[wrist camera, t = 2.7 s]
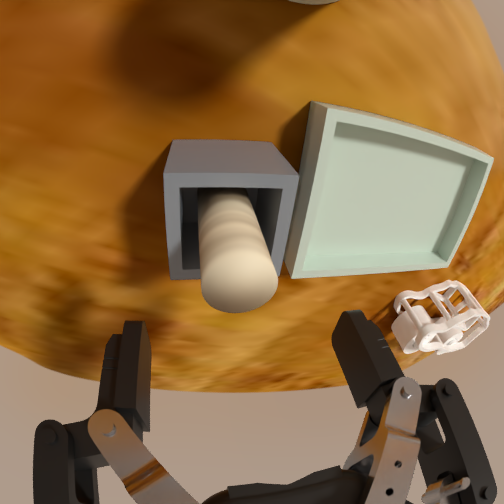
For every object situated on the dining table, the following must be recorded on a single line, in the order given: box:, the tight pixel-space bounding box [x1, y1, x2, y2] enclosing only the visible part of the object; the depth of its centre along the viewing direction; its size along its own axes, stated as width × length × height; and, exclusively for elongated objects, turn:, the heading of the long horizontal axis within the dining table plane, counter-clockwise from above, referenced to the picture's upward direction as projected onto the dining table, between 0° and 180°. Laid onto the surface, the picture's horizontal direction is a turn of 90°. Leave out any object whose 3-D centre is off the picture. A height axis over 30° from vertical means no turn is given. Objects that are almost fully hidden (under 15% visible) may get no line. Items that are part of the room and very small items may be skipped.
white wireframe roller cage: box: [391, 280, 490, 355], centre depth 35 cm, size 20×11×7 cm, turn 62°
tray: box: [283, 101, 494, 279], centre depth 23 cm, size 14×20×3 cm
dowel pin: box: [197, 187, 278, 313], centre depth 17 cm, size 3×3×10 cm
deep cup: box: [163, 140, 299, 280], centre depth 19 cm, size 7×7×6 cm
